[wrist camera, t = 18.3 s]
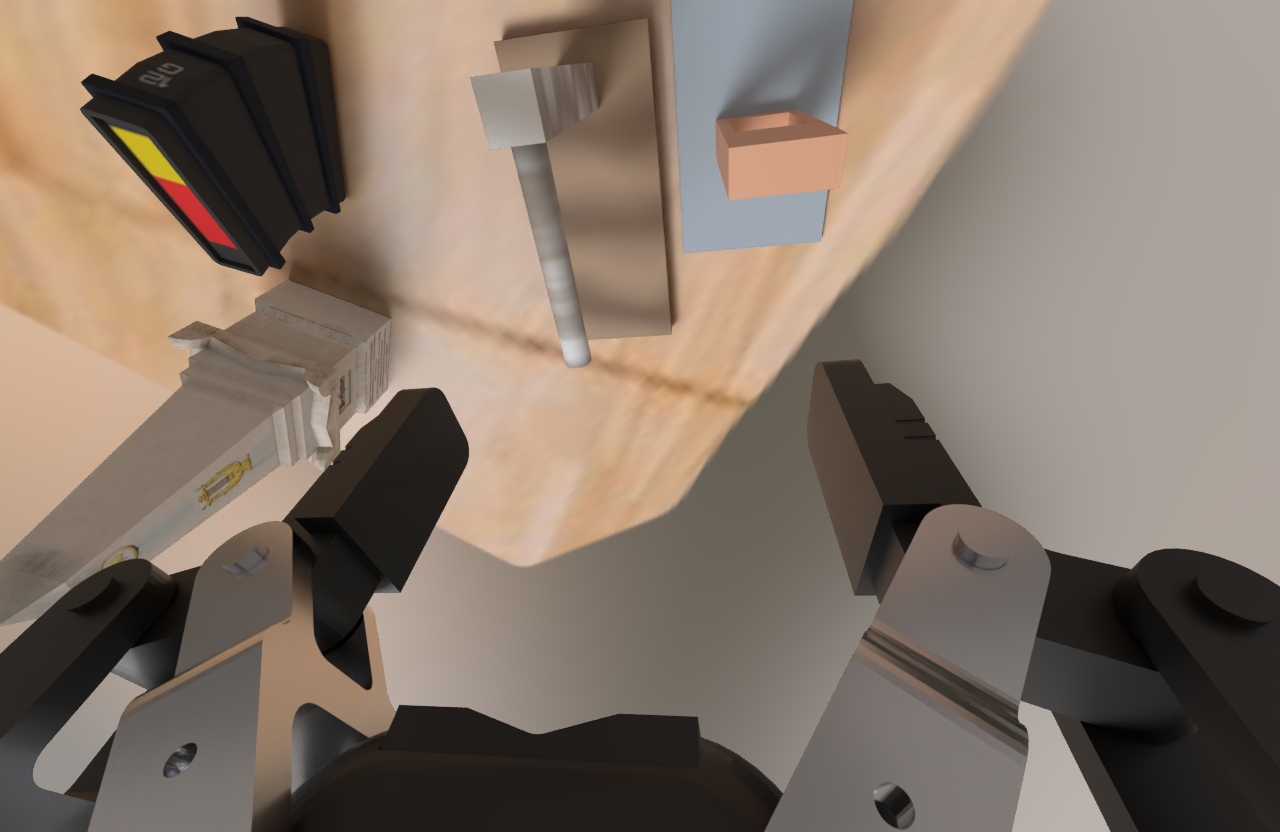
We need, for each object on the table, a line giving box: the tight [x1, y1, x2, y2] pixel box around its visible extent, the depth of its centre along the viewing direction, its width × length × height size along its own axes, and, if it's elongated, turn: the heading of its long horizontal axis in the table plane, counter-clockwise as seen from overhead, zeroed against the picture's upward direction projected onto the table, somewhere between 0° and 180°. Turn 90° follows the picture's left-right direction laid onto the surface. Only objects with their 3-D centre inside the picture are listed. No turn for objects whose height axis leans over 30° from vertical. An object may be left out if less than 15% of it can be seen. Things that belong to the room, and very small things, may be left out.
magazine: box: [80, 17, 345, 276], centre depth 30 cm, size 4×13×15 cm, turn 163°
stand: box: [470, 18, 672, 368], centre depth 30 cm, size 22×10×17 cm, turn 6°
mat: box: [671, 0, 853, 253], centre depth 32 cm, size 16×11×1 cm
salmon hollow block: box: [716, 109, 848, 200], centre depth 27 cm, size 2×6×12 cm, turn 97°
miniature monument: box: [0, 280, 391, 626], centre depth 35 cm, size 10×10×30 cm
